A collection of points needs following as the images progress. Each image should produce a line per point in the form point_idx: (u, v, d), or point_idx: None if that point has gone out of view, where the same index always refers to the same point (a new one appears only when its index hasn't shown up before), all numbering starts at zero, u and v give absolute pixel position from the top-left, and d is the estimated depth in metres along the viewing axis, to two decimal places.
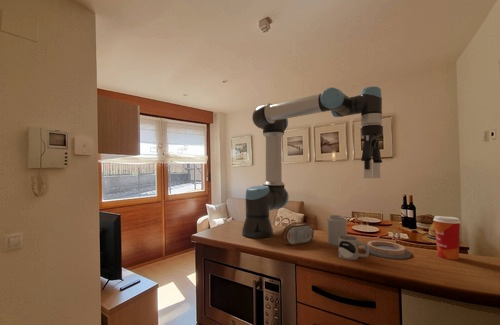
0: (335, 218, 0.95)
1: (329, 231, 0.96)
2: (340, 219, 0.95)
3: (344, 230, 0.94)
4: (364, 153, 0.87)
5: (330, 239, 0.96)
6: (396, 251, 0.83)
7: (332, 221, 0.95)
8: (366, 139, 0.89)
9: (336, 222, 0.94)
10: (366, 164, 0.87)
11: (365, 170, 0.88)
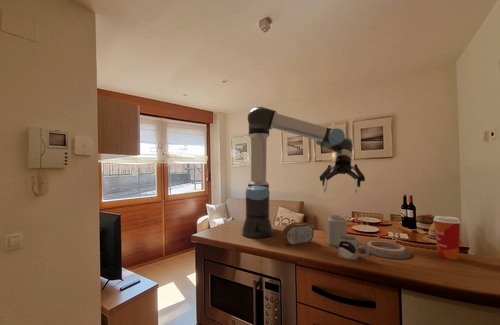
0: (335, 218, 0.95)
1: (329, 231, 0.96)
2: (340, 219, 0.95)
3: (344, 230, 0.94)
4: None
5: (330, 239, 0.96)
6: (396, 251, 0.83)
7: (332, 221, 0.95)
8: None
9: (336, 222, 0.94)
10: None
11: (357, 185, 1.05)
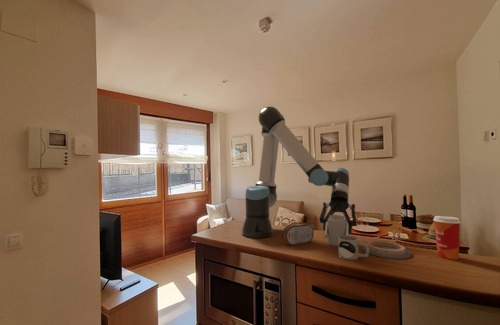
0: (335, 218, 0.95)
1: (329, 231, 0.96)
2: (340, 219, 0.95)
3: (344, 230, 0.94)
4: None
5: (330, 239, 0.96)
6: (396, 251, 0.83)
7: (332, 221, 0.95)
8: (354, 208, 1.01)
9: (336, 222, 0.94)
10: (351, 228, 0.95)
11: (348, 232, 0.94)
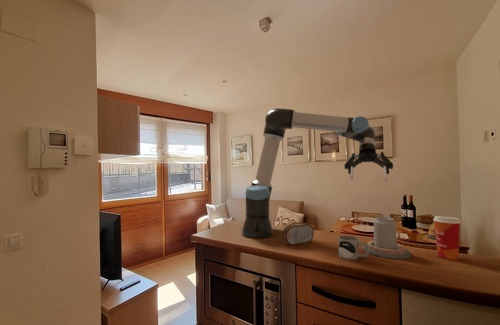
0: (384, 220, 0.87)
1: (377, 234, 0.88)
2: (390, 221, 0.87)
3: (394, 233, 0.86)
4: None
5: (378, 243, 0.88)
6: (396, 251, 0.83)
7: (380, 223, 0.87)
8: None
9: (385, 224, 0.86)
10: (388, 169, 1.04)
11: (386, 172, 1.02)
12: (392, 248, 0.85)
